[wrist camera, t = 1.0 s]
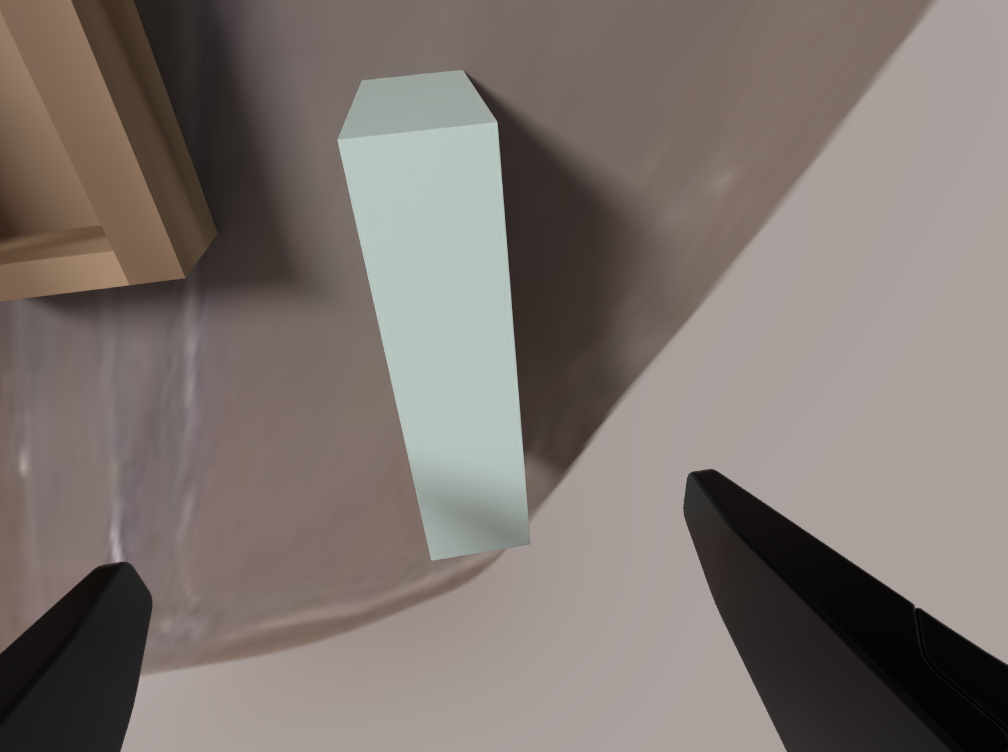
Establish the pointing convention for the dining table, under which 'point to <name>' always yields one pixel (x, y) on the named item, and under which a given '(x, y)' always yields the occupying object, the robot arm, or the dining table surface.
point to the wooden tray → (90, 154)
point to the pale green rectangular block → (442, 299)
